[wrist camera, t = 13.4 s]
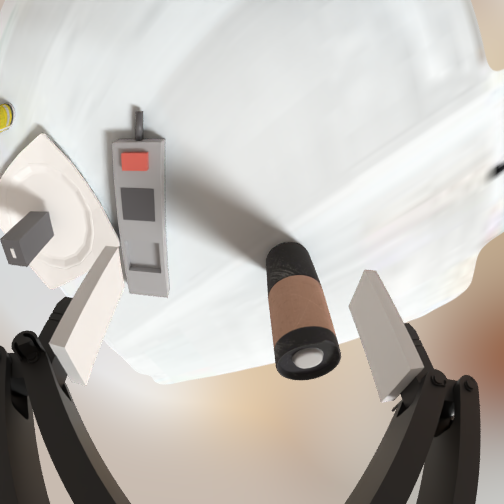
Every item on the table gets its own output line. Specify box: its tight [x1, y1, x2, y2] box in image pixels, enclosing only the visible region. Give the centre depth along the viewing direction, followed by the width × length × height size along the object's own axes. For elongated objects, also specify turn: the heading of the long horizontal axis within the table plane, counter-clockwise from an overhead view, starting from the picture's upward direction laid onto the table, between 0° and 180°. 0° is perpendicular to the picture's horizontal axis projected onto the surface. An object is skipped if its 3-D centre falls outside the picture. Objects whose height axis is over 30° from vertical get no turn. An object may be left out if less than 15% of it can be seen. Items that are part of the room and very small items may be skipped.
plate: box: [0, 133, 120, 290], centre depth 40 cm, size 24×24×3 cm
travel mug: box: [266, 242, 341, 380], centre depth 39 cm, size 8×8×20 cm
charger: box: [0, 211, 54, 267], centre depth 35 cm, size 4×4×9 cm
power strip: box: [112, 111, 170, 298], centre depth 40 cm, size 30×7×3 cm, turn 174°
